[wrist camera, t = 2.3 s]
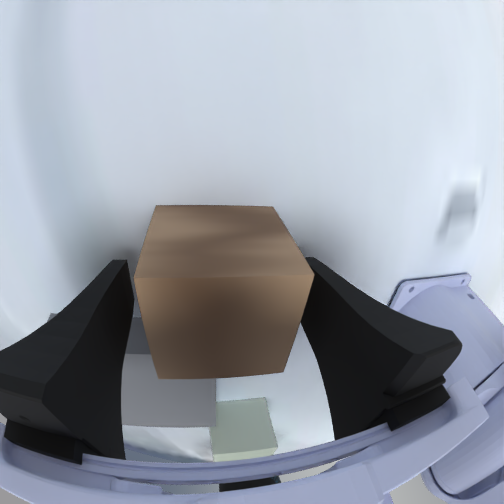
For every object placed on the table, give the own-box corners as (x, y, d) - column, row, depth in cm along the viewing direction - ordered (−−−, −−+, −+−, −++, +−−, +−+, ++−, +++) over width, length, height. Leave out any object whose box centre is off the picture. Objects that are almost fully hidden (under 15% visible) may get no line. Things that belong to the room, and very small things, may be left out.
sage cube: (264, 396, 21) (278, 446, 17) (258, 417, 24) (268, 460, 20) (206, 401, 20) (213, 454, 16) (208, 422, 23) (214, 466, 18)
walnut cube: (272, 205, 12) (314, 274, 8) (259, 294, 14) (283, 372, 10) (156, 204, 11) (133, 277, 7) (164, 296, 13) (158, 379, 9)
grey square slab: (211, 311, 15) (215, 353, 12) (212, 395, 20) (216, 426, 18) (53, 308, 13) (37, 344, 10) (98, 391, 18) (94, 421, 16)
